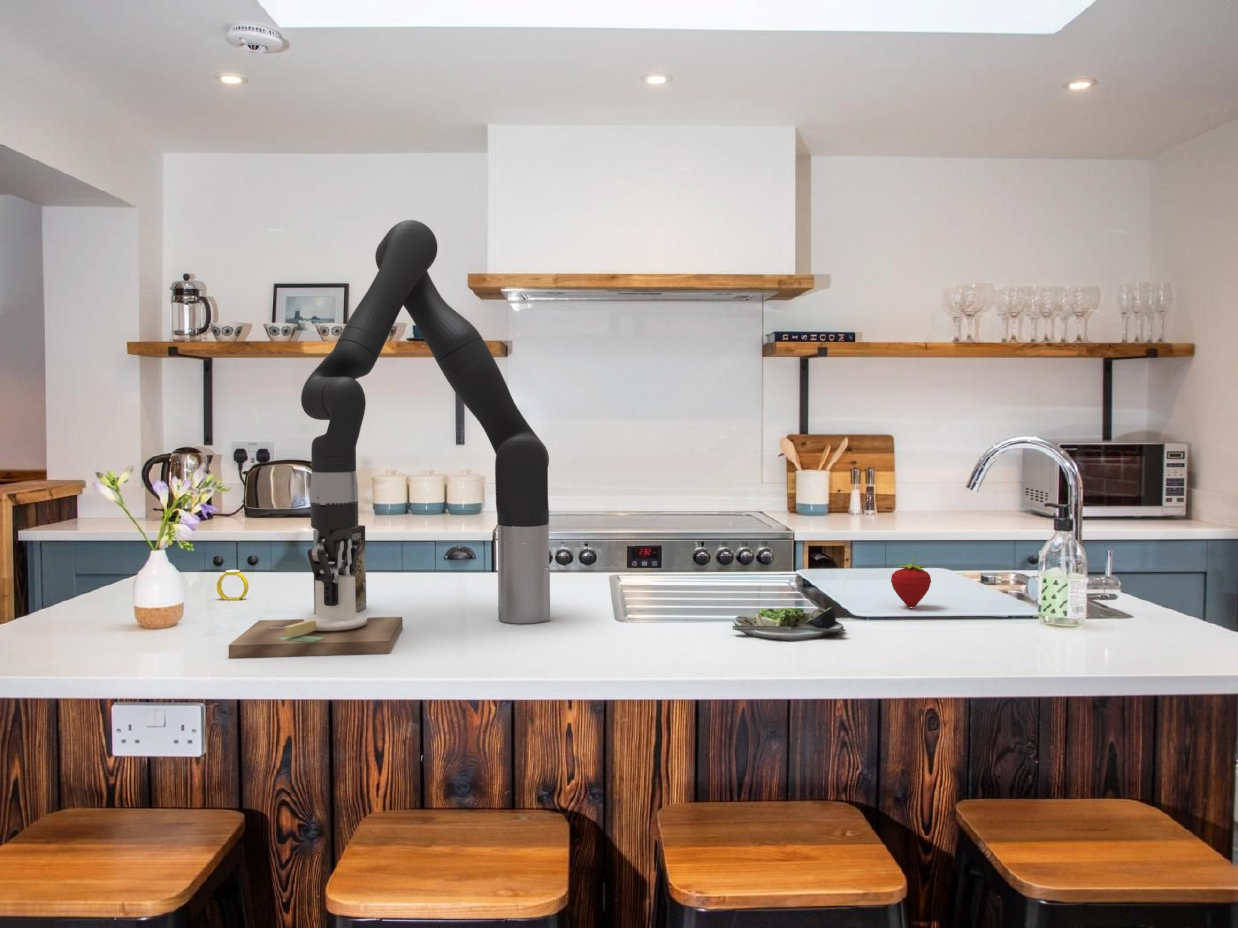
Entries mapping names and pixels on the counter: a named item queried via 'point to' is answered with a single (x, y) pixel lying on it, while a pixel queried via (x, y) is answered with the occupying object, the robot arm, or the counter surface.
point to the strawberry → (911, 583)
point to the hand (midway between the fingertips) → (335, 603)
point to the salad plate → (789, 624)
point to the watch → (237, 572)
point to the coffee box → (359, 570)
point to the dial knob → (331, 611)
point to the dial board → (316, 639)
